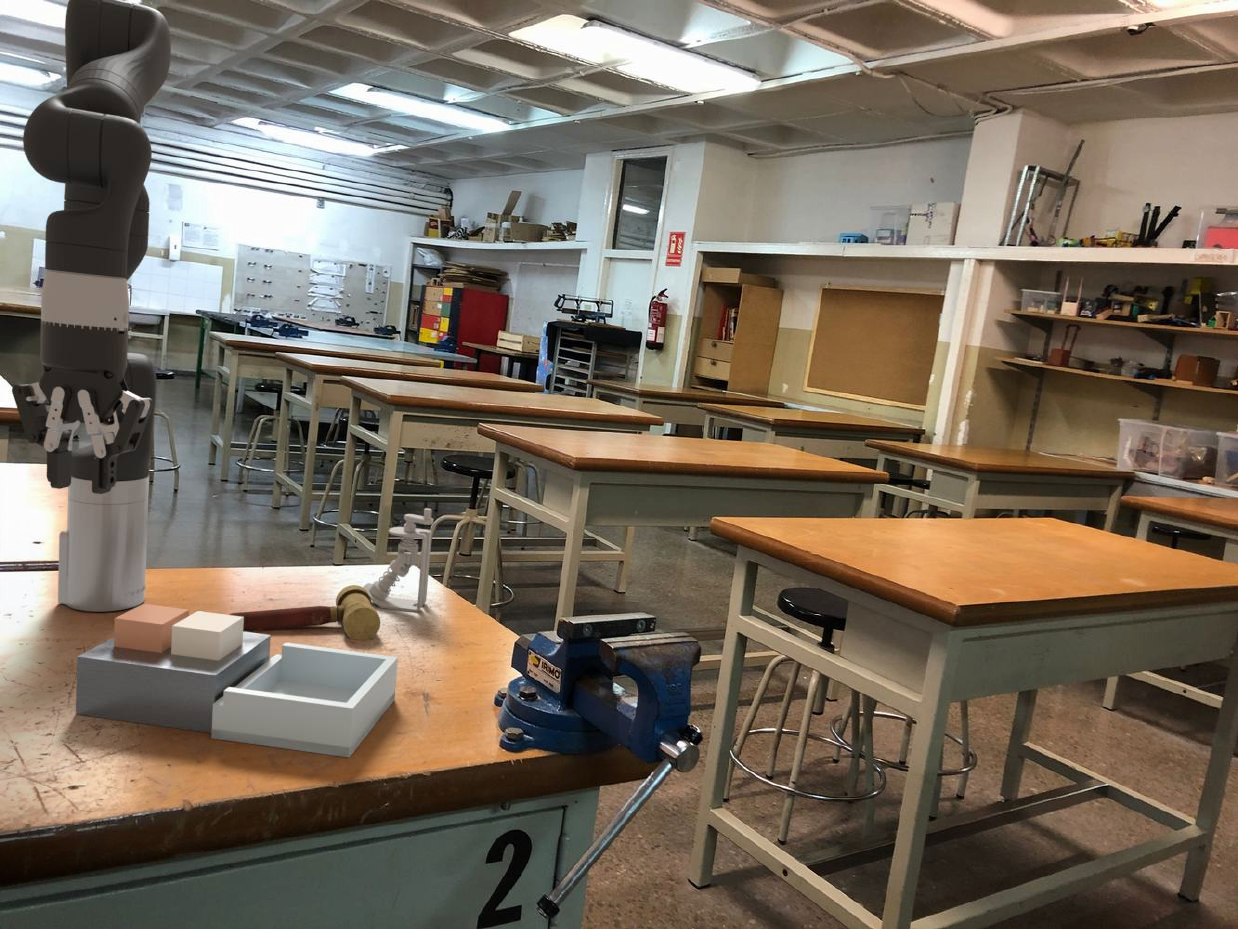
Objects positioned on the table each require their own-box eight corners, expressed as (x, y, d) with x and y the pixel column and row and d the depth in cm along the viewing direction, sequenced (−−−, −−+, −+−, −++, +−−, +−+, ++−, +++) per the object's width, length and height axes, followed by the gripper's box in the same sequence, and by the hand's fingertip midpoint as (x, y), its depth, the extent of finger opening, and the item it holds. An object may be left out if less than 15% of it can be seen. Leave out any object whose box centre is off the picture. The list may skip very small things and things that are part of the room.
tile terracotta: (113, 646, 93) (114, 618, 92) (142, 630, 98) (143, 603, 97) (161, 652, 93) (162, 624, 92) (187, 636, 98) (189, 609, 97)
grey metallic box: (75, 714, 90) (77, 656, 90) (146, 670, 102) (148, 618, 101) (212, 733, 90) (215, 675, 89) (267, 686, 102) (270, 635, 101)
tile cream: (171, 654, 93) (172, 625, 92) (196, 637, 98) (198, 610, 97) (218, 660, 92) (220, 632, 92) (242, 644, 97) (243, 617, 97)
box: (211, 738, 89) (213, 689, 88) (274, 683, 103) (277, 641, 102) (349, 757, 88) (352, 708, 87) (394, 700, 102) (397, 657, 101)
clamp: (367, 596, 136) (374, 498, 134) (430, 604, 136) (439, 505, 134) (358, 605, 132) (365, 503, 130) (424, 612, 132) (432, 511, 130)
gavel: (204, 621, 111) (205, 595, 120) (205, 657, 112) (206, 629, 121) (380, 606, 119) (369, 583, 128) (380, 639, 120) (369, 614, 129)
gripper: (-11, 311, 88) (-13, 487, 90) (132, 328, 87) (126, 505, 89) (43, 313, 95) (40, 476, 98) (175, 328, 94) (168, 492, 97)
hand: (81, 489), depth 93 cm, fingers open, 3 cm apart
